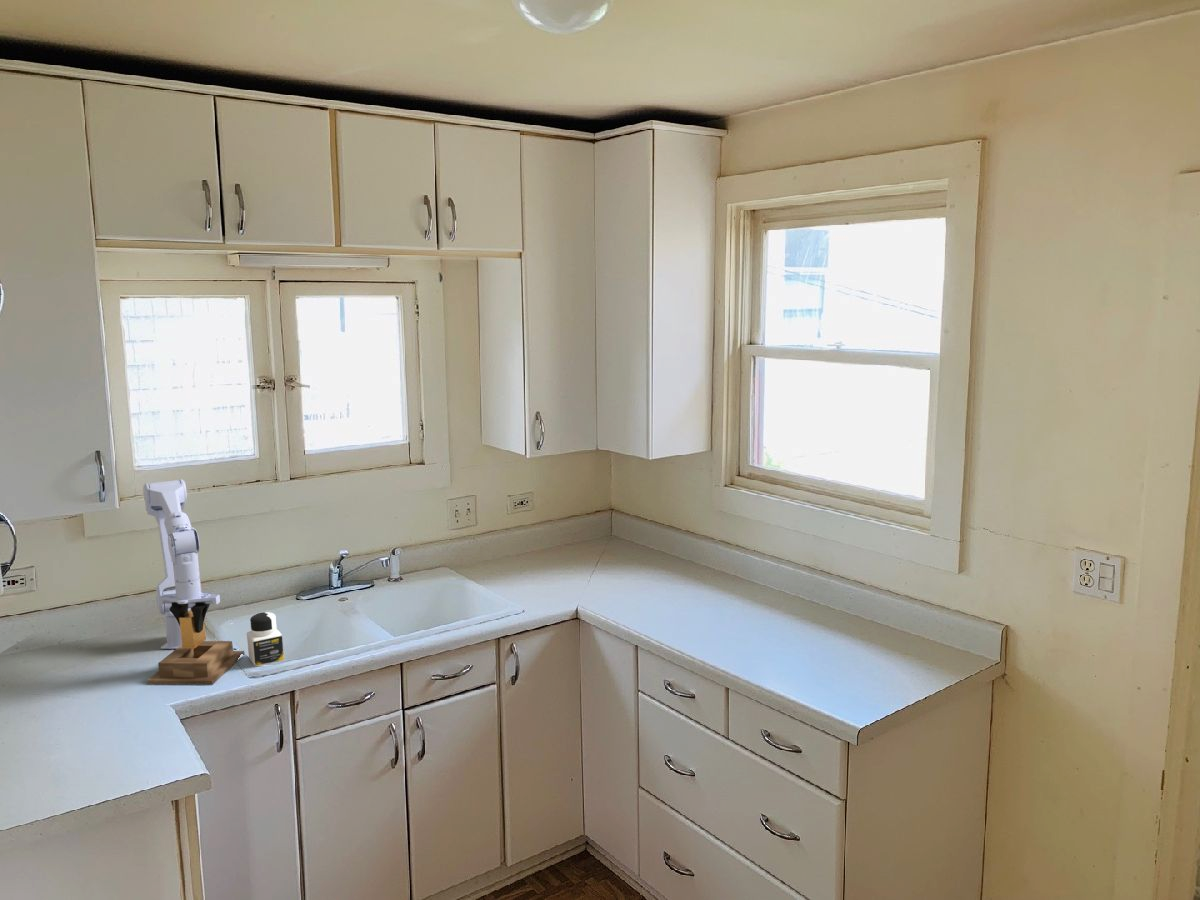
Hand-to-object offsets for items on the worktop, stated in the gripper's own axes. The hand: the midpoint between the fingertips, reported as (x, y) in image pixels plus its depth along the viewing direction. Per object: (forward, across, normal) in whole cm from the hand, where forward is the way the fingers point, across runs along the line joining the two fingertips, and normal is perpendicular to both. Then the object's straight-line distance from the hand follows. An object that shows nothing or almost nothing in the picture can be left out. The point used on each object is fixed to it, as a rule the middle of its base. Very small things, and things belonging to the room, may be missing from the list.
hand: (192, 631), depth 226 cm
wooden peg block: (+3, 0, 0) cm, 3 cm away
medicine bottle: (+10, +15, +6) cm, 19 cm away
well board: (+10, 0, 0) cm, 10 cm away
